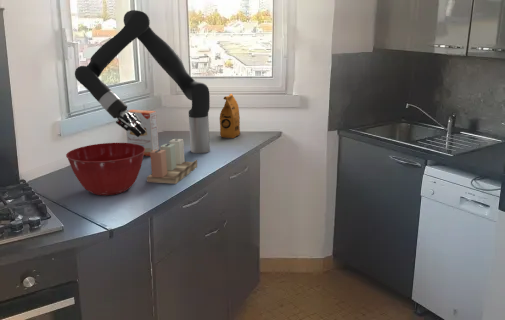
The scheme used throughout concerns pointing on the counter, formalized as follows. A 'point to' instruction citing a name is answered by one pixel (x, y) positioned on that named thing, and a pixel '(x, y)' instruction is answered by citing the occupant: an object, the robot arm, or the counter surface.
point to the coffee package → (230, 118)
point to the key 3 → (158, 163)
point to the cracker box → (151, 135)
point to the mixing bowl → (107, 166)
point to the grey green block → (170, 156)
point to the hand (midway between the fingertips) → (142, 134)
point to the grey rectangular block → (178, 150)
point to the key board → (175, 173)
